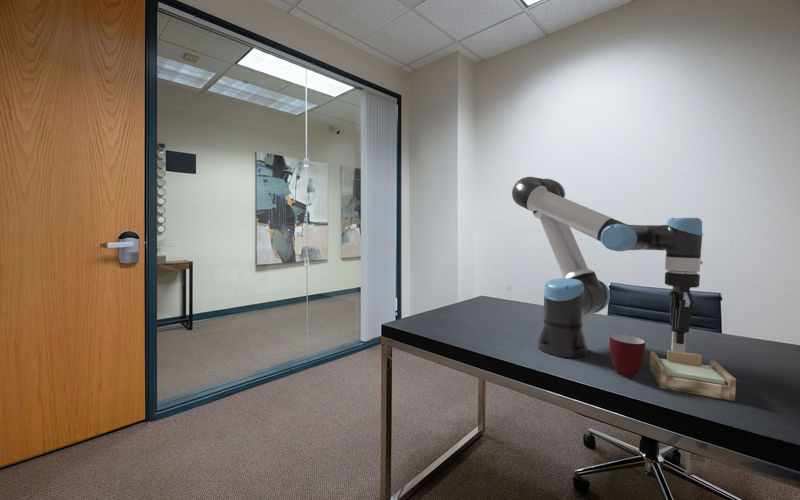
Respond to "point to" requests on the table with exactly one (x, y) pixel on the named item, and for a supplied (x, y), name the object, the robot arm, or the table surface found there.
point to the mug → (626, 354)
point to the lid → (690, 367)
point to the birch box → (694, 381)
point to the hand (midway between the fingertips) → (677, 353)
